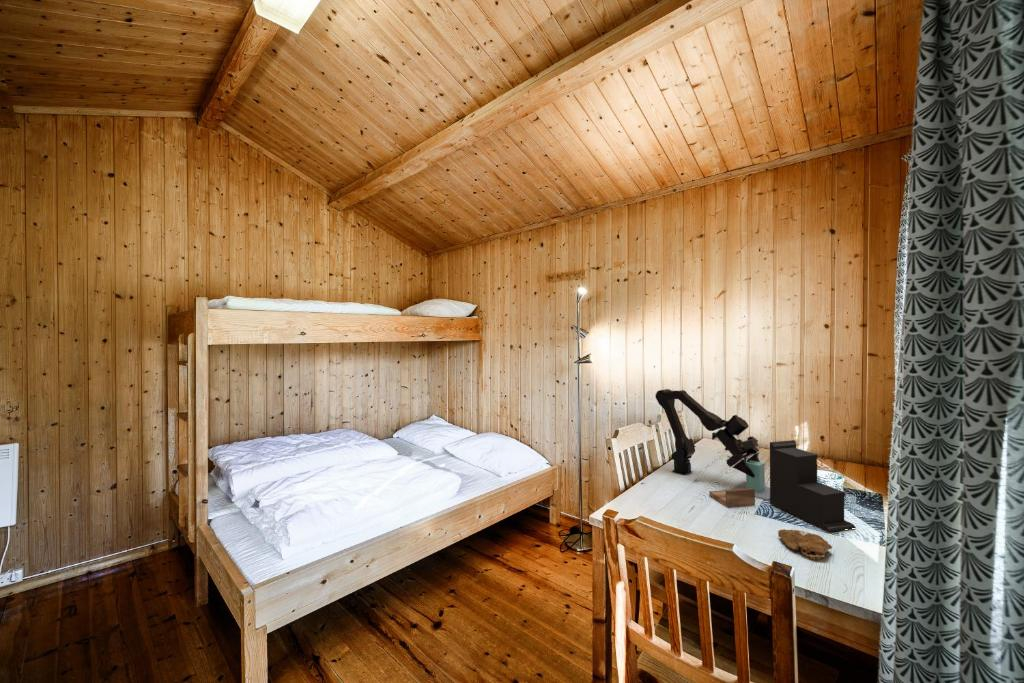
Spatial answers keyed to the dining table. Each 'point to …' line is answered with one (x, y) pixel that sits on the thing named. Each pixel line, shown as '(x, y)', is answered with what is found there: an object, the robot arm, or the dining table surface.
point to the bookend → (804, 488)
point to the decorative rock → (805, 543)
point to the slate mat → (762, 495)
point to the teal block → (756, 476)
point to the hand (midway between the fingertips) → (759, 474)
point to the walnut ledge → (734, 497)
